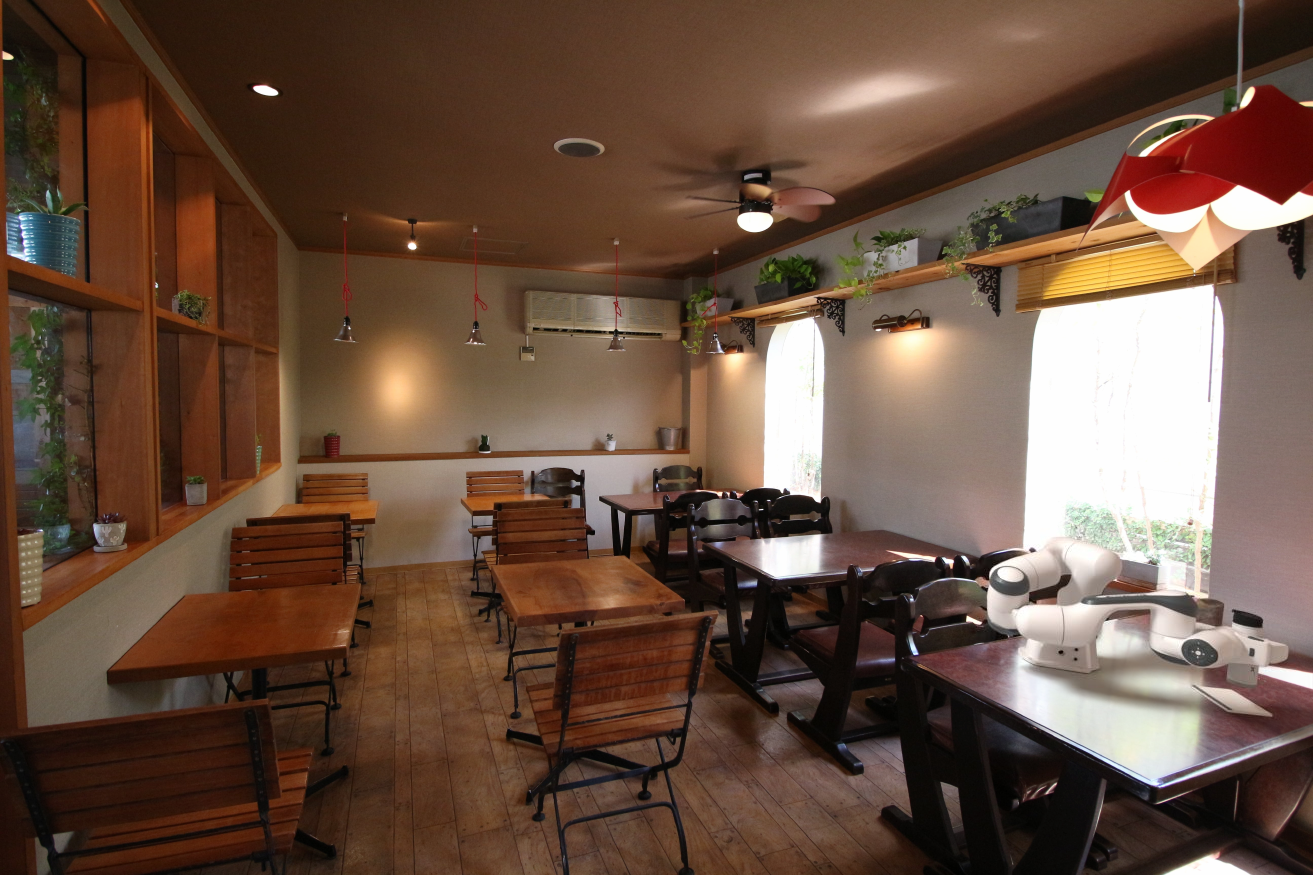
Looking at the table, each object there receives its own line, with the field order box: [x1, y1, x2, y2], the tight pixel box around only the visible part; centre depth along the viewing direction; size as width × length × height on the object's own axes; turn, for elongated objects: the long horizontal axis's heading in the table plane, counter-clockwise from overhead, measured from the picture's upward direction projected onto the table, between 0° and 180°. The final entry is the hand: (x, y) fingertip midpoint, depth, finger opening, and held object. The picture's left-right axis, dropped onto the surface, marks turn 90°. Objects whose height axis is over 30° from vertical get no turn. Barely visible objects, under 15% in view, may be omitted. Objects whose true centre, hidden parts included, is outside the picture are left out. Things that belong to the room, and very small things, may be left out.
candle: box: [1196, 597, 1225, 627], centre depth 218 cm, size 8×7×20 cm
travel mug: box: [1226, 608, 1264, 690], centre depth 181 cm, size 6×7×20 cm
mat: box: [1190, 684, 1273, 717], centre depth 186 cm, size 10×16×1 cm, turn 170°
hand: (1247, 636), depth 181 cm, fingers closed on travel mug, 6 cm apart
